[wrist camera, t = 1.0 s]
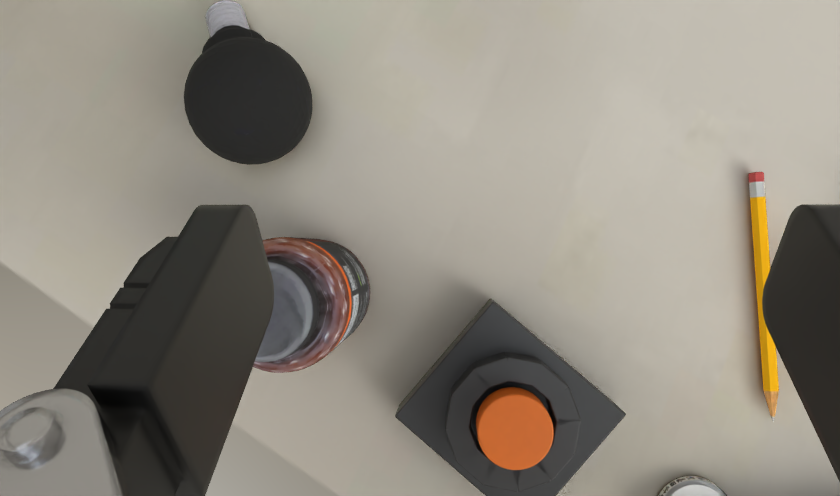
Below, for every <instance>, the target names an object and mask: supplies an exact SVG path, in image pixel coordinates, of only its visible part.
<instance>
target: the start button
mask: <svg viewBox="0 0 840 496" xmlns="http://www.w3.org/2000/svg"><path fill="white" fill-rule="evenodd" d="M476 429H477V436H478V441H479V444H480V447H481V449H482V451H483V452H484V454H485V455H486V456H487V458H488V459H489V460H490V461H492V462H493V463H494V464H496V465H498V466H500V467H502V468H505V469H509V470H523V469H527V468H530V467H532V466H534V465H536V464H537V463H539V462H540V461H541V460H542V459H543V458H544V457H545V456H546V455H547V453H548V452H549V450H550V448H551V445H552V442H553V436H554V429H553V423H552V420H551V417H550V415H549V413H548V412H547V410H546V408H545V407H544V405H543V403H542V402H541V401H540V400H539V399H538V398H537V397H536V396H535V395H534V394H533V393H531V392H529V391H527V390H525V389H522V388H517V387H506V388H502V389H499V390H496V391H494V392H493V393H491V394H490V395H489V396H487V397H486V398H485V400H484V401H483V402H482V404H481V405H480V407H479V410H478V412H477V417H476Z"/></svg>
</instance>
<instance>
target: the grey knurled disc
mask: <svg viewBox="0 0 840 496" xmlns="http://www.w3.org/2000/svg"><path fill="white" fill-rule="evenodd" d="M659 496H727V495H726V494H725V493H724V492H723V491H722V490H721V489H720V488H719V487H718V486H717V485H715V484H714V483H713V482H711V481H709V480H707V479H705V478H702V477H697V476H685V477H681V478H678V479H675V480H674V481H672V482H670V483H669V484H668V485H666V486H665V487H664V488H663V490H662V491H661V492H660V494H659Z"/></svg>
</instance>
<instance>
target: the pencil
mask: <svg viewBox="0 0 840 496" xmlns="http://www.w3.org/2000/svg"><path fill="white" fill-rule="evenodd" d="M748 175H749V189H750V203H751V218H752V232H753V247H754V261H755V275H756V290H757V304H758V318H759V333H760V347H761V362H762V376H763V390H764V394H765V397H766V401H767V404H768V408H769V411H770V415H771V418H772V420H773V422H774V418H775V413H776V406H777V398H778V391H779V386H778V371H777V357H776V346H775V344H774V342H773V339H772V337H771V335H770V333H769V331H768V329H767V326H766V324H765V320H764V316H763V309H762V296H763V289H764V285H765V282H766V279H767V277H768V274H769V271H770V257H769V242H768V228H767V214H766V199H765V185H764V173H763V172H754V173H749V174H748Z"/></svg>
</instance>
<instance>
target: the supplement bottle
mask: <svg viewBox="0 0 840 496" xmlns="http://www.w3.org/2000/svg"><path fill="white" fill-rule="evenodd" d="M263 245H264V249H265V252H266V256H267V260H268V263H269V267H270V271H271V274H272V278H273V284H274V306H273V312H272V316H271V319H270V322H269V324H268V327H267V330H266V332H265V335H264V338H263V340H262V343H261V346H260V349H259V351H258V354H257V357H256V359H255V362H254V365H253V367H255V368H258V369H261V370H264V371H269V372H277V373H283V372H292V371H298V370H301V369H304V368H306V367H309V366H311V365H313V364H315V363H317V362H318V361H320V360H321V359H323V358H324V357H325V356H326V355H328V354H329V353H330V352H331V351H332V350H334V349H335V348H336V347H337V346H338V345H339V344H340V343H341V342H342V341H343V340H345V339H346V338H347V337H348V336H349V335H350V334H351V333H353V332H354V331H355V329H356V328H357V327H358V326H359V324H360V323H361V321H362V320H363V318H364V316H365V314H366V312H367V308H368V305H369V299H370V286H369V280H368V276H367V274H366V271H365V269H364V267H363V265H362V264H361V262H360V261H359V260H358V258H357V257H356V256H355V255H354V254H353V253H352V252H351V251H349V250H348V249H346V248H345V247H343V246H341V245H339V244H337V243H334V242H331V241H326V240H319V239H306V238H292V237H279V238H271V239H266V240H263Z"/></svg>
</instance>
